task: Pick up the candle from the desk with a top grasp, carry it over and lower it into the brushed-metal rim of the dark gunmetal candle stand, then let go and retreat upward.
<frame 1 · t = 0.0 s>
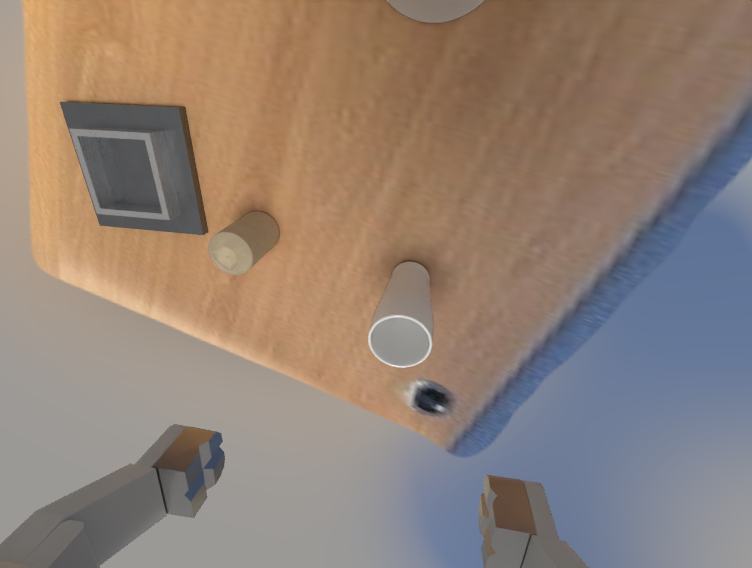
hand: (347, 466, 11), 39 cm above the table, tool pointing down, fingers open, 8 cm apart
drinking glass: (410, 277, 52), on the table
candle: (261, 229, 52), on the table
candle stand: (141, 170, 50), on the table
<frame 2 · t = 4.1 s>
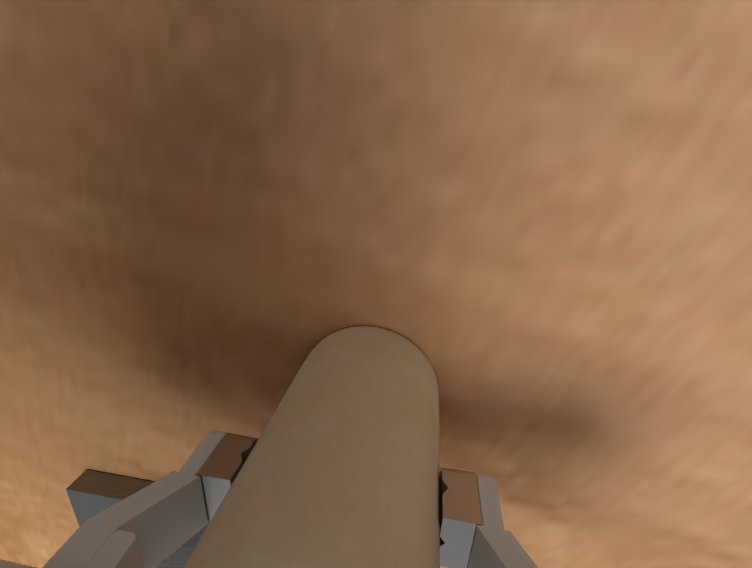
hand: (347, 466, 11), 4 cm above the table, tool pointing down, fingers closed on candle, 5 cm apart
candle: (370, 381, 15), on the table, touching gripper
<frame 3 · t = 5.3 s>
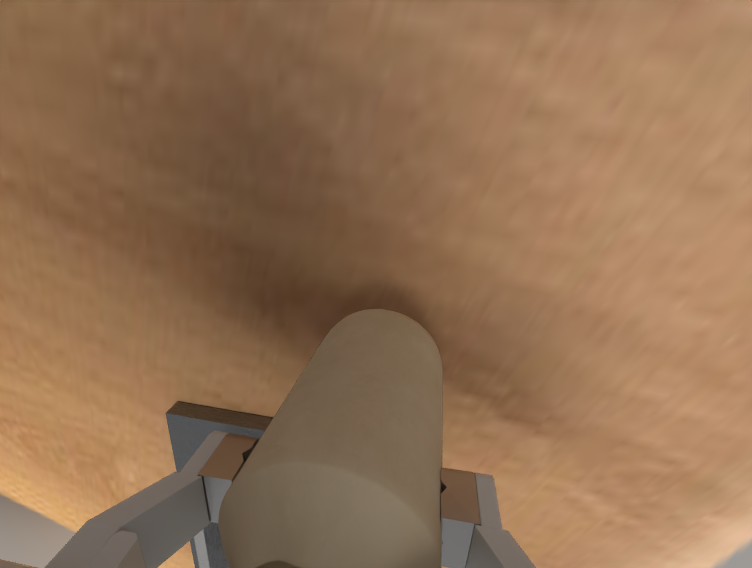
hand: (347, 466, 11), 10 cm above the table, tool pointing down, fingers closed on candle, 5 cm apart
candle: (381, 360, 17), point 4 cm above the table, touching gripper
candle stand: (291, 506, 28), on the table
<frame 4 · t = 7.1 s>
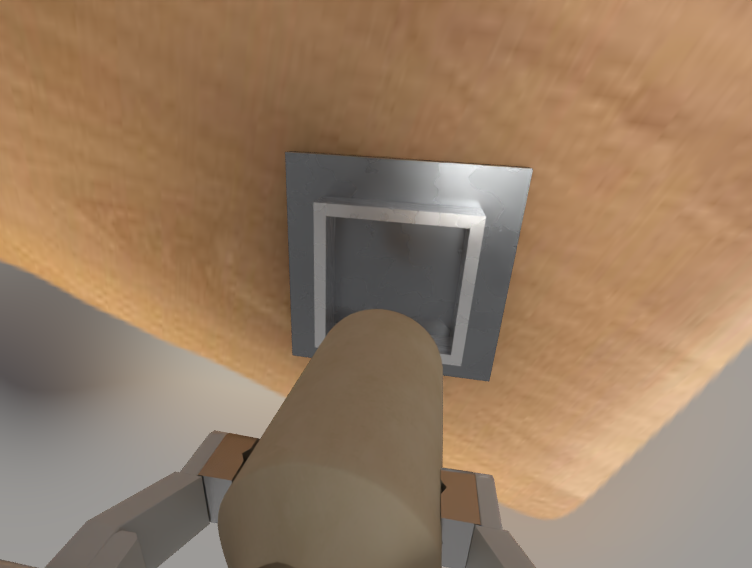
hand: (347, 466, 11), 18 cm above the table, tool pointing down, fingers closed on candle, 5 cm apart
candle: (381, 361, 17), point 12 cm above the table, touching gripper
candle stand: (396, 270, 28), on the table
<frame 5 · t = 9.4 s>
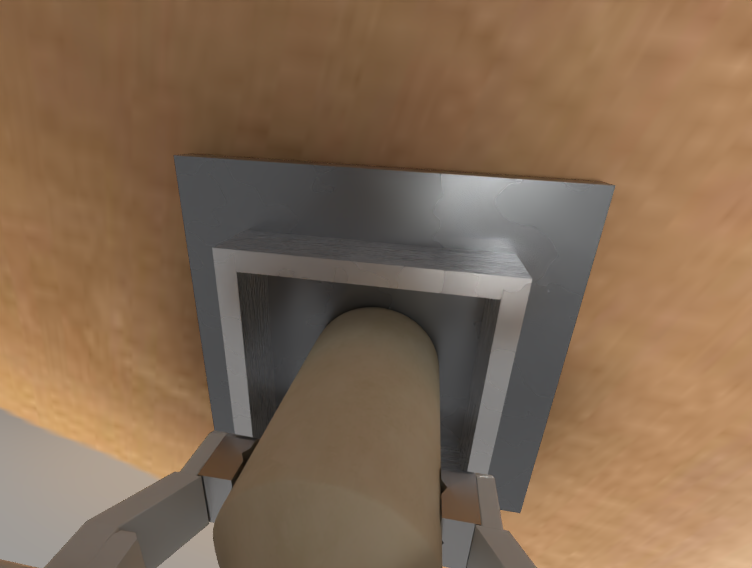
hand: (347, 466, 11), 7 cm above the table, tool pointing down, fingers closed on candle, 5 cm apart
candle: (376, 358, 17), point 1 cm above the table, touching candle stand, gripper
candle stand: (373, 343, 18), on the table
when the fingers open (7 cm above the table, at t = 10.2 s): candle stays where it is, resting on candle stand.
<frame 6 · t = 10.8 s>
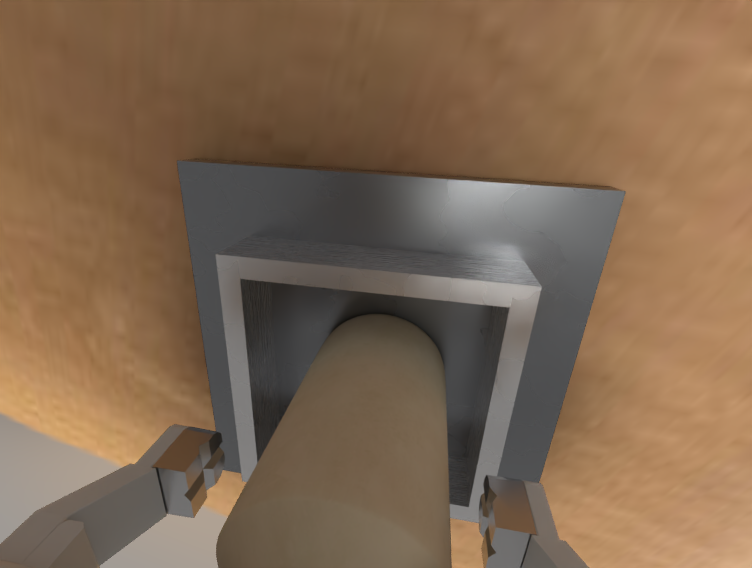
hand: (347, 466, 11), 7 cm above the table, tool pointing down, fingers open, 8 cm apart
candle: (381, 365, 17), point 1 cm above the table, touching candle stand
candle stand: (378, 350, 17), on the table
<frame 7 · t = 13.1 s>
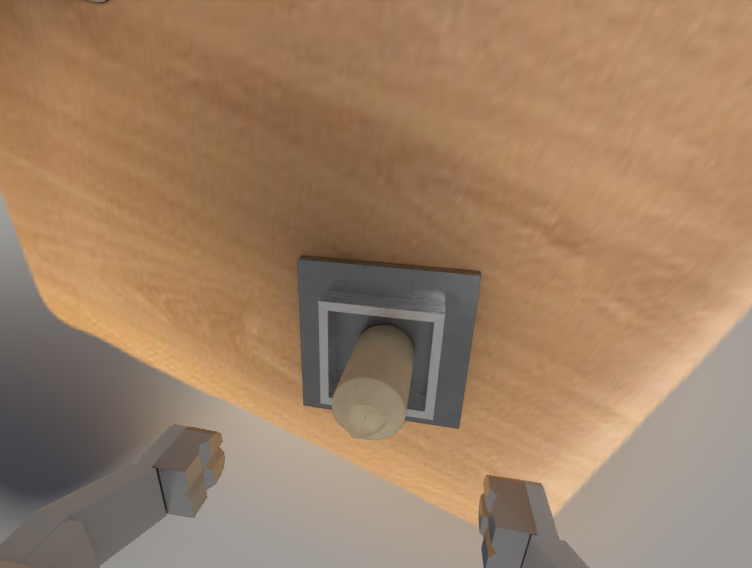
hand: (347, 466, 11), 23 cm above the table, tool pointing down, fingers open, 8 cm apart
candle: (385, 348, 35), point 1 cm above the table, touching candle stand
candle stand: (384, 341, 36), on the table
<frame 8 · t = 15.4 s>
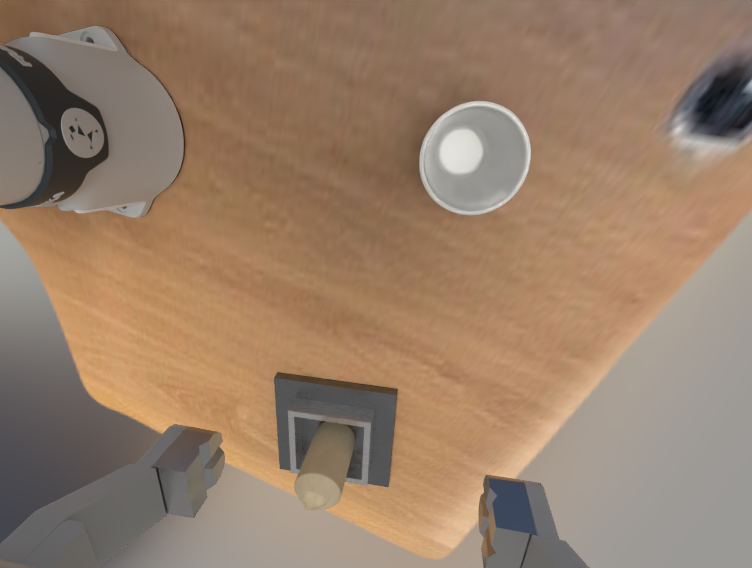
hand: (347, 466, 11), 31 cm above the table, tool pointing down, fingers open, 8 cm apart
drinking glass: (460, 150, 37), on the table
candle: (336, 434, 51), point 1 cm above the table, touching candle stand
candle stand: (335, 428, 52), on the table
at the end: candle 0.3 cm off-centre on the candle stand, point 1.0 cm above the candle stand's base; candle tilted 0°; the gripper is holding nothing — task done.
